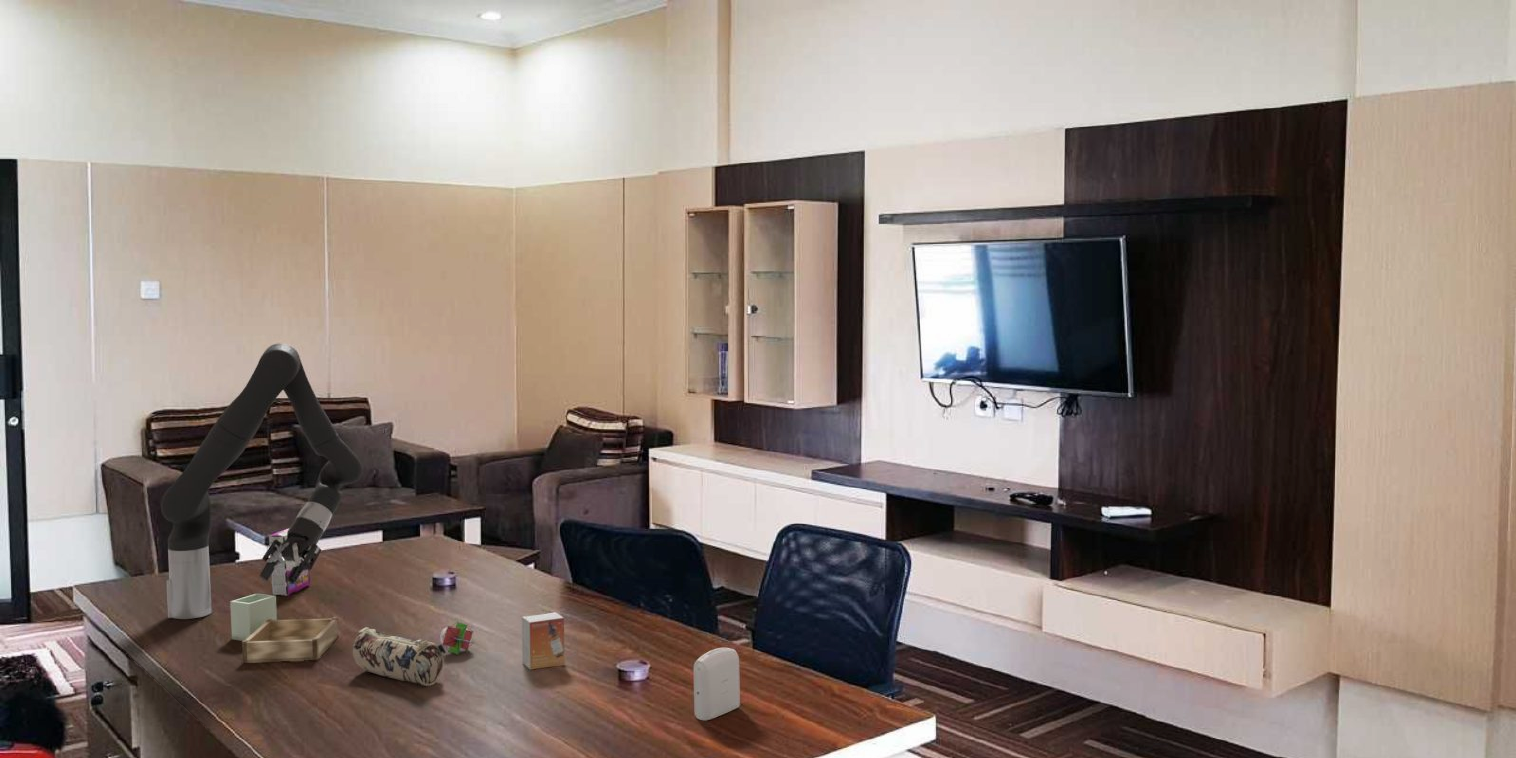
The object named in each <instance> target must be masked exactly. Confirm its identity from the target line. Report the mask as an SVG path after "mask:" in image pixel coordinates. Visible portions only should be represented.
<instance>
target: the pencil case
mask: <svg viewBox="0 0 1516 758" xmlns="http://www.w3.org/2000/svg"><path fill="white" fill-rule="evenodd" d="M357 633H358V634H359V635H358V636H357V637H356V639H355V640H354V643H353V645H352V646H353V647H352V657H353V660H354V662H355V663H356V665H358V666H359V667H360V668H361V669H363V670H364V671H366V672H369V673H372V674H376V675H379V676H381V677H387V678H390V679H394V680H398V681H402V682H409V683H413V684H418V685H420V686H425V687H429V686H433V685H435V684H436V683H437V681H438V678H439V677H440V675H441V674H442V671H443V668H444V662H445V660H444V659H445V658H444V655H443V654H446V653H447V652H446V649H445V647H444V646H443V645H442V644H439V645H437V644H436V643H435V642H430V641H428V639H426V640H424V641H422V639H417V640H412V639H408V638H406V637H401V636H400V637H399V636H395V635H387V634H384V633H381V632H380V631H379V630H377V629H374V628H369V627H368V626H367V627H364V628H361V629H360V630H359V631H358V632H357Z"/></svg>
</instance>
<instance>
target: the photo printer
mask: <svg viewBox="0 0 1516 758" xmlns="http://www.w3.org/2000/svg"><path fill="white" fill-rule="evenodd" d="M740 684H741V683H740V657H739V654H738V652H737V651H736V650H735V649H734V648H731V647H730V648H729V647H718V648H714V649H711V650H709V651H708V652H705V653H703V654H702V655H701V656H700V657H699V658H697V659H696V661H695V662H694V664H693V701H694V702H693V708H694V709H693V710H694V712H693V713H694V716H695V717H696V719H697V720H700V721H704V722H705V721H709V720H713V719H716V718H717V717H719V716H722V715H725V714H727V713H730V712H731V711H733V710H735V709H737V708H739V707H740V705H741V700H740V699H741V696H740V695H741V691H740V689H741V687H740V686H741V685H740Z"/></svg>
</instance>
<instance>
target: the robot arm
mask: <svg viewBox="0 0 1516 758" xmlns="http://www.w3.org/2000/svg"><path fill="white" fill-rule="evenodd" d="M282 391H283V392H284V393H285V395H286V397H287V398H288V400H289V402H290V404H291V407H292V409H293V411H294V414H295V416H296V419H297V422H298V424H299V427H300V429H301V430H302V433H303V434H304V436H305V439H306V440H307V441H308V443H309V445H310V447H311V449H312V450H313V452H314V453H315V454H316V455H317V456H320V457H324V458H326V459H327V460H328V461H327V462H326V463H325V464H324V465H323V467H321V469H320V472H319V474H318V478H317V481H316V484H315V488H314V490H313V492H312V493H311V494H310V496H309V498H308V500H307V502H306V503H305V504H304V505H303V506H302V508H301V509H300V511H299V512H298V514H297V516H296V517H295V519H294V520H293V522H292V523H291V525H290V527H289V530H288V532H287V539H286V540H285V541H284V542H279V541H278V540H277V539H276V540H274V541H273V543H272V544H271V546H269V547H268V548H267V551H266V552H265V553H264V555H263V556H262V558H261V559H262V561H264V562H265V565H264V567H263V569H262V570H261V572H260V575H259V576H260V579H262V580H263V581H265V582H266V581H268V580H269V578H271V574H272V572H273V571H274V569H275V567H276V566H277V565H279V564H280V563H284V562H286V561H294V562H295V565H296V567H293V568H292V570H291V572H290V574H289V575H288V577H287V581H288V582H289V583H290V584H294V583H295V582H296V581H297V579H298V577H299V576H300V574H301V572H302V571H304V570H305V569H308V570H309V571H310V570H312V569H313V567H314V565H315V563H316V561H317V559H318V557H319V556H320V554H321V552H322V549H321V548H320V547H319V546H318V545H317V544H318V543H319V541H320V539H321V538H322V536H323V535H324V532H326V529H327V528H328V526H329V524H330V522H331V519H332V517H333V515H334V514H335V512H336V511H337V509H338V507H339V506H340V503H341V501H342V496H341V493H340V490H341V488H342V486H344V485H345V486H346V485H351V484H355V483H356V482H358V481H360V479H361V477H362V475H363V466H362V463H361V460H360V459H359V457H358V456H357V454H355V452H354V451H353V450H352V449H351V448H350V447H349V446H348V445H347V443H345V442H344V440H342V439H341V438H340V436H339V434H338V432H337V430H336V428H335V426H334V425H333V423H332V421H331V420H330V418H329V416H328V415H327V413H326V411H325V410H324V408H323V407H322V405H321V403H320V401H319V399H318V398H317V396H316V394H315V391H314V390H313V388H312V386H311V384H310V382H309V379H308V377H307V374H306V372H305V369H304V366H303V363H302V360H301V356H300V355H299V352H298V351H297V349H295V348H294V347H293V346H291V345H289V344H288V343H282V342H281V343H280V342H279V343H274V344H271V345H270V346H268V347H267V348H266V349H265V350H264V352H263V353H262V355H261V356H260V358H259V360H258V363H257V365H256V367H255V368H254V371H253V373H252V375H251V377H250V378H249V380H248V382H247V383H246V385H245V386H244V388H243V389H242V391H241V392H240V393H239V394H238V396H237V397H236V398H234V400H232V402H231V403H229V405H228V406H227V407H226V408H225V410H224V411H223V412H222V413H221V415H220V416H219V417H218V419H217V420H216V421H215V423H214V425H213V426H212V427H211V429H210V430H209V432H208V433H207V435H206V436H205V438H204V440H203V441H202V443H201V444H200V446H199V447H198V449H197V450H196V452H195V454H194V456H193V457H192V459H191V460H190V463H189V464H188V465H187V466H186V468H185V469H184V470H183V472H182V473H180V475H179V476H178V477H177V478H176V480H175V481H174V482H173V483H172V484H171V486H170V487H169V488H167V490H166V491H165V493H164V494H163V495H162V498H161V502H160V511H161V515H162V516H163V518H165V519H166V520H167V521H168V522H170V523H172V529H171V532H170V534H169V536H168V538H167V553H168V555H167V556H168V574H169V577H168V578H169V579H167V580H166V582H165V583H166V599H167V601H166V603H167V619H174V620H175V619H176V620H191V619H197V618H202V617H206V616H208V615H210V614H212V592H211V573H210V572H211V571H210V567H211V566H210V553H209V552H210V550H209V548H210V547H209V537H210V536H211V535H210V534H211V527H212V525H211V524H212V521H211V520H212V517H211V516H212V514H211V512H212V511H211V499H210V498H211V497H210V493H209V490H210V488H211V487H212V485H213V484H214V483H215V481H216V480H218V478H219V477H220V476H221V475H222V474H223V473H224V472H225V471H226V470H227V469H228V468H229V467H230V466H231V465H233V463H235V461H237V459H238V458H239V457H240V456H241V455H242V453H243V452H244V451H245V449H246V448H247V447H248V445H249V444H250V443H251V441H252V439H253V438H254V437H255V435H256V433H257V432H258V430H259V428H260V426H261V425H262V423H263V420H264V419H265V416H266V415H267V412H268V410H269V409H270V407H271V406H272V404H273V402H275V400H276V399H277V397H278V396H279V395H280V394H281V393H282ZM281 553H282V556H283V557H281V556H280V554H281ZM270 554H271V557H270ZM275 559H278V560H277V561H275V562H273V561H274V560H275ZM308 562H309V563H308Z"/></svg>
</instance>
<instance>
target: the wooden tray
mask: <svg viewBox="0 0 1516 758" xmlns="http://www.w3.org/2000/svg"><path fill="white" fill-rule="evenodd" d="M338 638H339V617H338V616H333V617H332V618H331V617H330V618H303V619H301V618H300V619H277V620H272V619H267V620H266V622H265V623H264V624H263V625H262V626H261V627H259V628H258V629H257V630H256V631H255V632H254V633H253V634H252V635H250V636H249V637H248V638H247V639H246V640H243V641H241V650H242V652H241V653H242V654H241V655H242V663H243V664H255V663H257V664H258V663H280V662H281V661H290V662H308V661H307V660H318V659H319V658H320V659H321V657H322V656H323V655H324V654H325V653H326V652H325V650H327V651H328V649H329V648H330V647H331V646H332V645H333V644H334V643H335V642H336V640H338ZM334 641H335V642H334ZM333 642H334V643H333ZM332 643H333V644H332ZM324 652H325V653H324ZM323 653H324V654H323ZM322 654H323V655H322ZM321 655H322V656H321ZM320 656H321V657H320ZM320 659H319V660H320ZM304 660H306V661H304ZM319 660H318V661H319ZM281 663H282V662H281Z"/></svg>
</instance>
